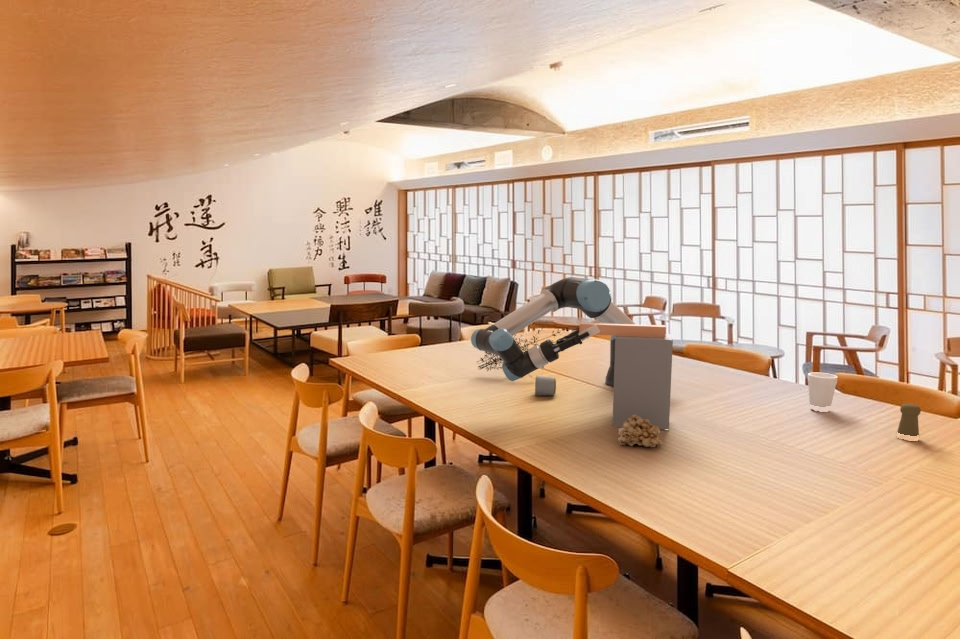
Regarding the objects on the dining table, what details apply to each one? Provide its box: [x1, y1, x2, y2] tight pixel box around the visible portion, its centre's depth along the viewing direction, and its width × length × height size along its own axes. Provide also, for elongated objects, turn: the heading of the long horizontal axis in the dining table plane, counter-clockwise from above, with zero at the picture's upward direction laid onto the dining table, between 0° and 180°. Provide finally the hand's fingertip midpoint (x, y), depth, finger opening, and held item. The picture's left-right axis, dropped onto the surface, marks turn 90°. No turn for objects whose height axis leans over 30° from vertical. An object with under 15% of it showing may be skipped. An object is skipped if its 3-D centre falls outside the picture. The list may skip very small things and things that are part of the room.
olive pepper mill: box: [896, 403, 922, 436], centre depth 191 cm, size 6×6×11 cm
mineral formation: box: [617, 415, 664, 448], centre depth 188 cm, size 8×13×15 cm
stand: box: [612, 333, 674, 430], centre depth 205 cm, size 18×12×30 cm, turn 76°
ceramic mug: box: [534, 375, 557, 397], centre depth 244 cm, size 11×8×8 cm
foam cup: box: [807, 371, 838, 407], centre depth 221 cm, size 10×9×13 cm
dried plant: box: [476, 322, 567, 381], centre depth 271 cm, size 30×31×45 cm
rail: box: [578, 322, 667, 338], centre depth 205 cm, size 28×4×4 cm, turn 76°
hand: (599, 325), depth 206 cm, fingers open, 13 cm apart
